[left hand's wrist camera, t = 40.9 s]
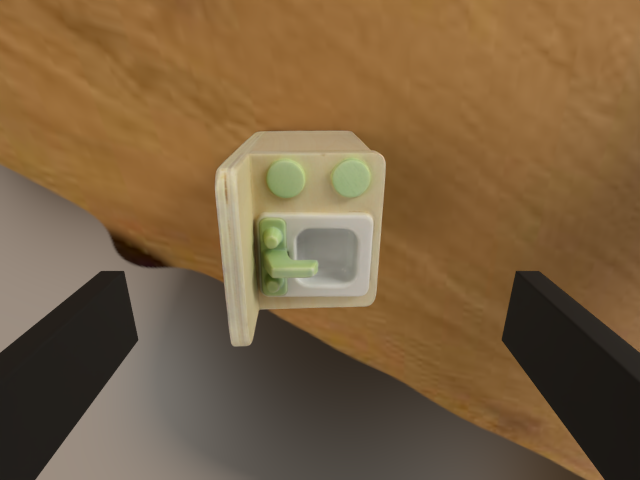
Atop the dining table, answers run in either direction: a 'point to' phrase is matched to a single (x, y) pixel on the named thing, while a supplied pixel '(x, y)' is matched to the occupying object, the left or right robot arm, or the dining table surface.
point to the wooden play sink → (298, 224)
